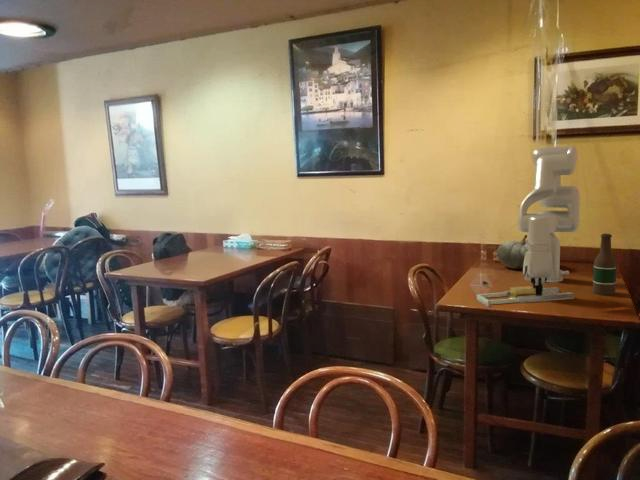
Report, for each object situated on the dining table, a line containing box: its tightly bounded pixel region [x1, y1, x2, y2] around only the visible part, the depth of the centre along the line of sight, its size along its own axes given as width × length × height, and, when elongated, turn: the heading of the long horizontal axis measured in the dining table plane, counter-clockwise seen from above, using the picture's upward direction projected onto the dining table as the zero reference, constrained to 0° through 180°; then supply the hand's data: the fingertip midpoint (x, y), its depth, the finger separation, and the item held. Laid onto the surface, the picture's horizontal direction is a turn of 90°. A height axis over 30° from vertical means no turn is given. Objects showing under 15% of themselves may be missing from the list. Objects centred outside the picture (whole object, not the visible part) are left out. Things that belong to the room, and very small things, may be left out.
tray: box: [475, 291, 520, 308], centre depth 186 cm, size 12×10×2 cm
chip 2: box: [521, 285, 536, 296], centre depth 188 cm, size 4×4×4 cm
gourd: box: [496, 234, 528, 270], centre depth 249 cm, size 25×25×17 cm
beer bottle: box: [592, 233, 617, 296], centre depth 192 cm, size 8×8×24 cm
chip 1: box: [509, 286, 526, 299], centre depth 187 cm, size 4×4×4 cm
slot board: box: [504, 286, 575, 304], centre depth 189 cm, size 22×12×3 cm, turn 98°
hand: (537, 294), depth 188 cm, fingers closed
